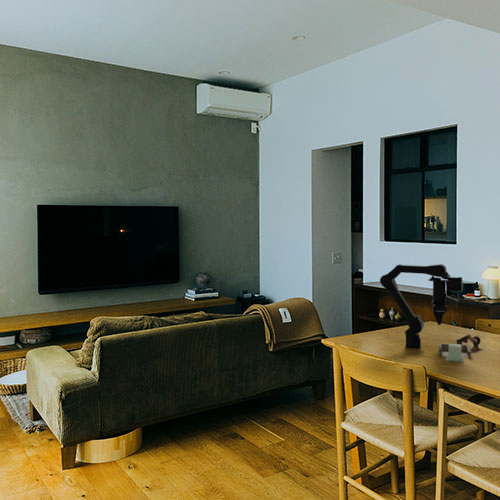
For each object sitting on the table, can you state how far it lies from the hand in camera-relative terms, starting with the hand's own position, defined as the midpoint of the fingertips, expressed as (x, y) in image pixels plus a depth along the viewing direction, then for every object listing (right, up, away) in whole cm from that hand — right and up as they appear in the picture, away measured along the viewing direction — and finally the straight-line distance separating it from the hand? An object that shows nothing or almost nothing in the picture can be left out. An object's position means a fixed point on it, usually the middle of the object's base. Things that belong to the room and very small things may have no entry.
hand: (439, 323), depth 246 cm
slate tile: (0, -14, -18) cm, 23 cm away
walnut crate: (+4, -13, -8) cm, 16 cm away
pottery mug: (+15, -13, +2) cm, 20 cm away
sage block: (0, -13, -18) cm, 22 cm away
